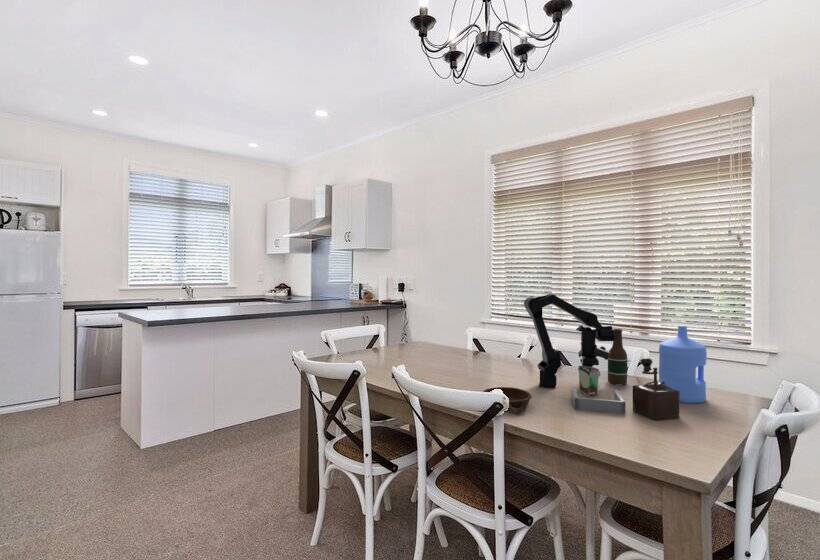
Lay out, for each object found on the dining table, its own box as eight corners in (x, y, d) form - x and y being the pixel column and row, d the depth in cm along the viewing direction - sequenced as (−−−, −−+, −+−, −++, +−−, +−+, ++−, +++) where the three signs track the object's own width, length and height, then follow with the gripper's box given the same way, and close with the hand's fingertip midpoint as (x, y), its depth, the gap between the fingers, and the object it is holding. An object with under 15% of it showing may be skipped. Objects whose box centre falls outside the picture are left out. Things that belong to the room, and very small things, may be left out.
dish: (514, 396, 167) (514, 383, 167) (544, 414, 145) (544, 400, 145) (473, 399, 163) (473, 386, 163) (497, 418, 142) (497, 404, 141)
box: (574, 409, 150) (575, 398, 150) (571, 396, 165) (571, 386, 164) (625, 413, 145) (625, 402, 145) (617, 400, 160) (617, 390, 160)
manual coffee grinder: (682, 418, 140) (683, 365, 140) (654, 421, 138) (655, 367, 138) (646, 404, 156) (647, 356, 155) (621, 406, 153) (621, 357, 153)
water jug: (664, 402, 158) (665, 328, 157) (653, 390, 173) (654, 323, 172) (712, 405, 153) (713, 330, 153) (697, 393, 168) (698, 324, 168)
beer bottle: (631, 384, 183) (631, 329, 182) (618, 385, 180) (618, 330, 180) (616, 379, 190) (617, 327, 190) (603, 381, 187) (604, 328, 187)
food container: (605, 397, 164) (606, 372, 163) (590, 397, 164) (590, 372, 164) (592, 388, 176) (592, 365, 176) (578, 388, 176) (578, 365, 176)
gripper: (612, 346, 169) (612, 384, 170) (605, 338, 187) (604, 373, 187) (582, 344, 172) (582, 382, 173) (578, 337, 190) (578, 371, 191)
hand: (588, 377), depth 181 cm, fingers closed
